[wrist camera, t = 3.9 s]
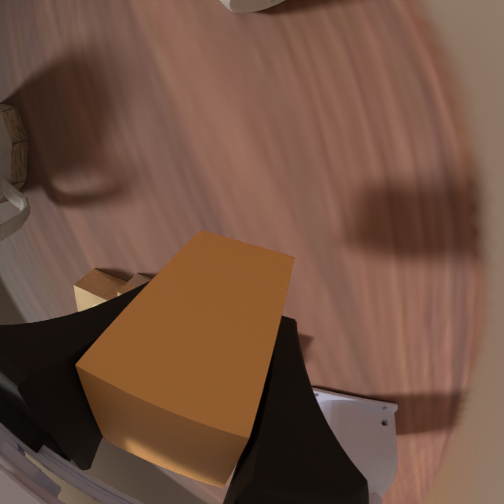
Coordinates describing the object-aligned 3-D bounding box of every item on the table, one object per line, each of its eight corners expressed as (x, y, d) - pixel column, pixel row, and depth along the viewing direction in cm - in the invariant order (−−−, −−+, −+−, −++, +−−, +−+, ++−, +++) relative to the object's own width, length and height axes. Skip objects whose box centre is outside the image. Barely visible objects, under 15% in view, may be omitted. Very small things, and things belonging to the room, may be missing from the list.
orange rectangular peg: (294, 257, 12) (248, 438, 5) (271, 330, 14) (223, 488, 7) (200, 229, 12) (75, 365, 5) (191, 304, 14) (104, 439, 7)
